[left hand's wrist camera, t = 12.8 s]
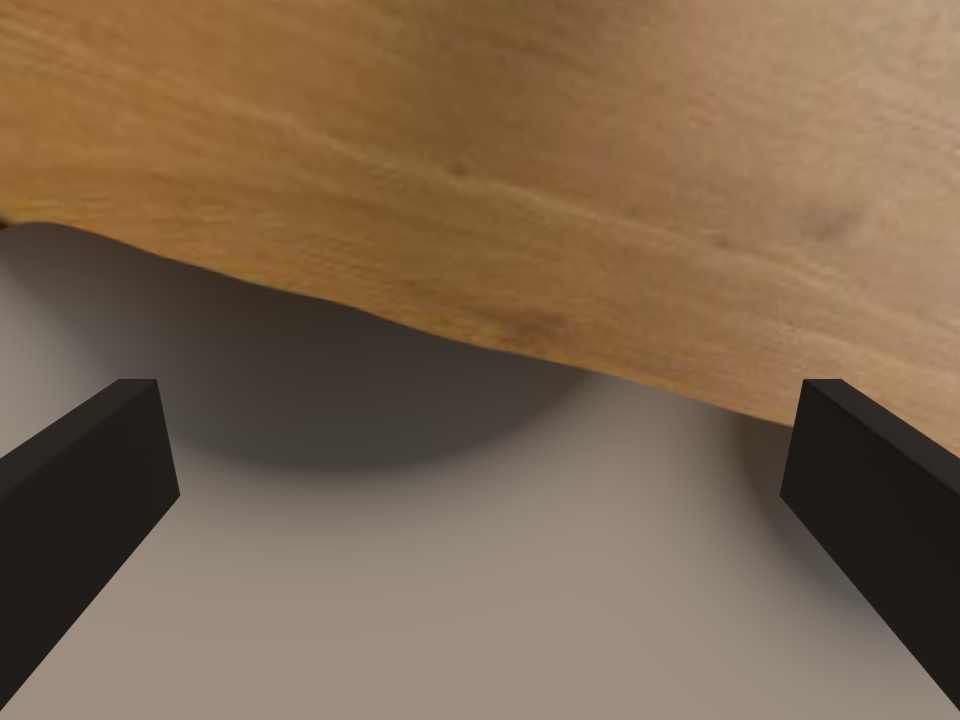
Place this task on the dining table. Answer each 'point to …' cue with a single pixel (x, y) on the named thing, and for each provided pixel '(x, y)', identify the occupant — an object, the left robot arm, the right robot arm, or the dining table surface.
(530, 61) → the dining table surface
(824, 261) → the dining table surface
